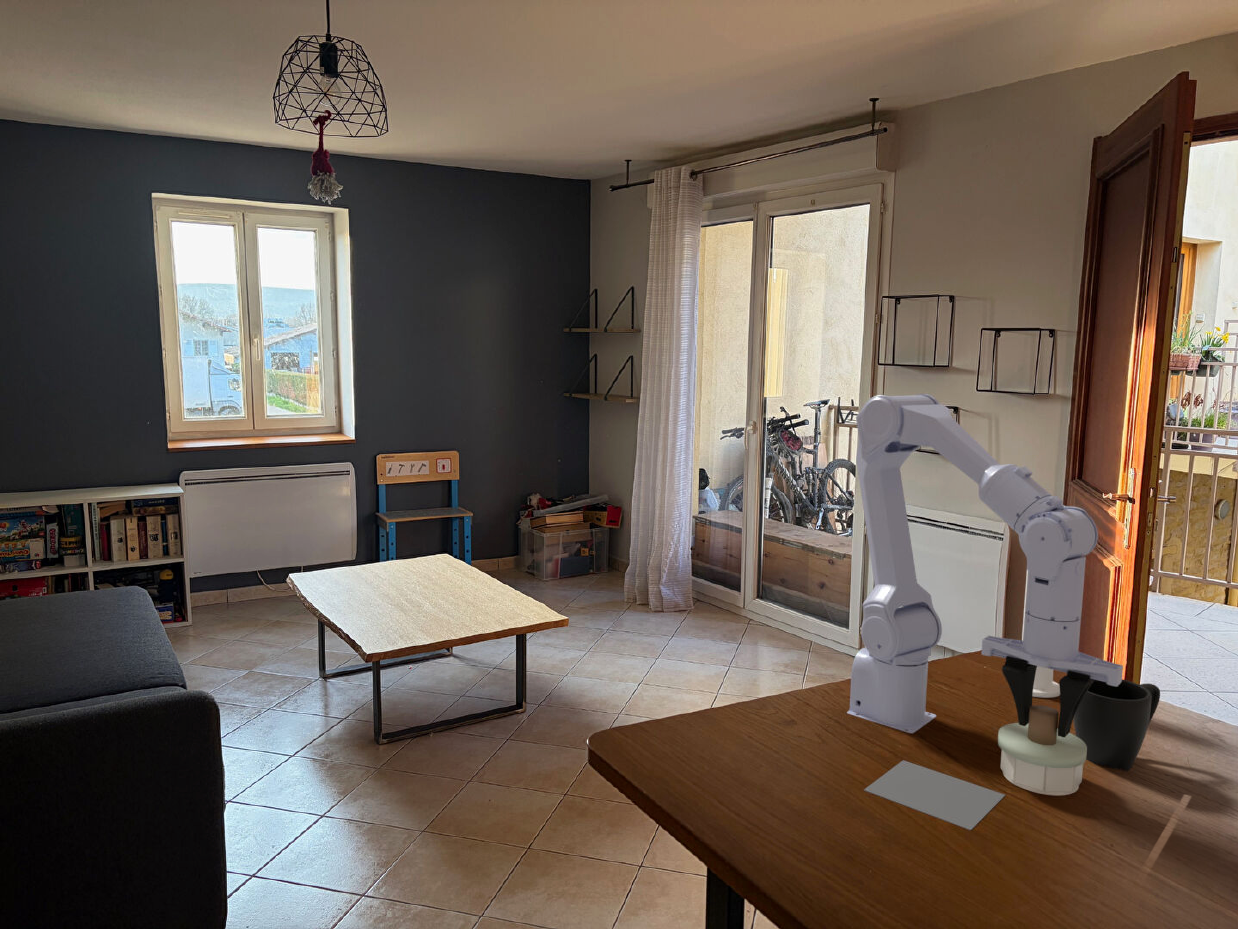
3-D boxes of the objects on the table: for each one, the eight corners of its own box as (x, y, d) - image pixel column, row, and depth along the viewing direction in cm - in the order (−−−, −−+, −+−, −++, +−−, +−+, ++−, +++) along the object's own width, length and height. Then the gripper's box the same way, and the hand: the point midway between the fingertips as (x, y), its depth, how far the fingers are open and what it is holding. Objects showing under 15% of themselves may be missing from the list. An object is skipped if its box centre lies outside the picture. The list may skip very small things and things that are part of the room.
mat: (863, 794, 98) (863, 789, 98) (902, 765, 106) (903, 760, 106) (970, 835, 90) (970, 830, 90) (1005, 800, 98) (1005, 795, 97)
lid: (984, 748, 101) (986, 709, 100) (1017, 725, 107) (1019, 688, 107) (1068, 776, 94) (1071, 735, 94) (1098, 750, 101) (1101, 711, 100)
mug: (1183, 766, 106) (1190, 691, 105) (1110, 782, 102) (1117, 704, 101) (1123, 738, 114) (1129, 668, 112) (1053, 752, 109) (1058, 679, 108)
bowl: (992, 782, 101) (994, 748, 101) (1016, 760, 107) (1018, 727, 107) (1066, 807, 96) (1069, 771, 96) (1087, 782, 102) (1090, 748, 101)
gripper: (974, 608, 101) (967, 720, 103) (1114, 637, 91) (1103, 760, 93) (997, 596, 106) (989, 703, 108) (1131, 622, 96) (1121, 739, 98)
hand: (1043, 728), depth 101 cm, fingers open, 4 cm apart
